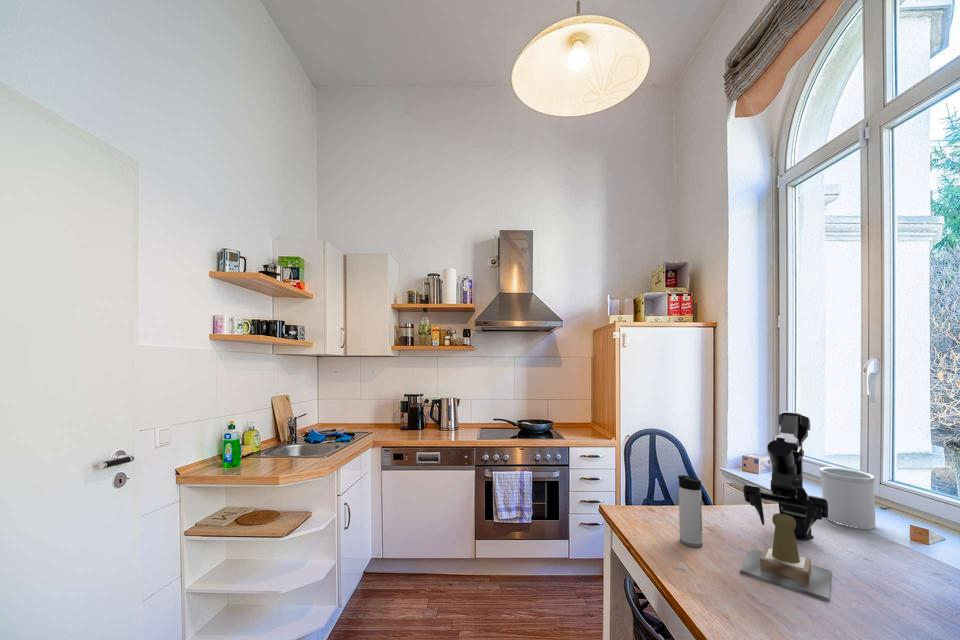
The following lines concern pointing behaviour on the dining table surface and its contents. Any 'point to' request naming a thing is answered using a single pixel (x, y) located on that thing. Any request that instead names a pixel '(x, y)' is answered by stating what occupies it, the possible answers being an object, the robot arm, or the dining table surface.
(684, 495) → the travel mug
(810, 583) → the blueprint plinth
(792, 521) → the cork
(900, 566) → the dining table surface
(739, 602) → the dining table surface
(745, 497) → the robot arm
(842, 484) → the utensil holder
